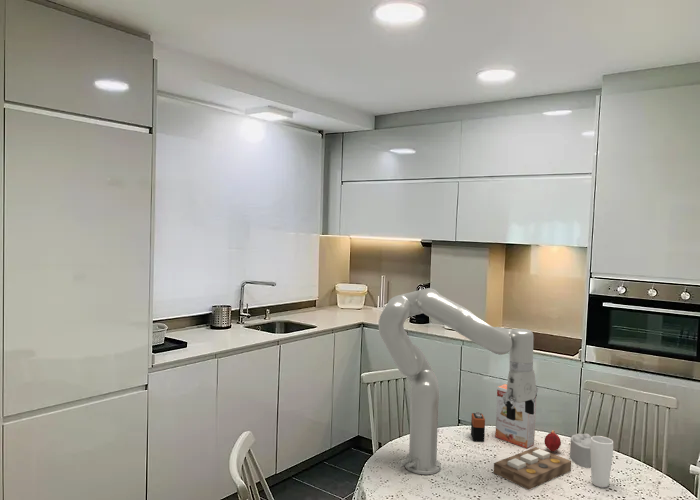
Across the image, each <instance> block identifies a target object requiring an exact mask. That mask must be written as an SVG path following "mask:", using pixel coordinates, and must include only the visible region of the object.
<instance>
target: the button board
mask: <svg viewBox="0 0 700 500" xmlns="http://www.w3.org/2000/svg"><path fill="white" fill-rule="evenodd" d="M538 449H541V450H544V449H542V448H539V447H537V446H536V447H535V446H534V447H532V448H530V449H528V450H525V451H522V452H519V453H517V454H514V455H511V456H509V457H506V458H504V459H500V460H498V461H495V462H493V474H495V475H497V476H499V477H501V478H503V479H505V480H507V481H510V482H512V483H514V484H515V485H518V486H520V487H522V488H525V489H526V490H529V491H530V490H532V489H534V488H536V487H539V486H541V485H543V484H546V483H547V482H549V481H552V480H553V479H556V478H558V477H561V476H562V475H564V474H568V473H570V472H571V471H572V460H571V459H567V458H565V457H563V456H559V455H557V454H554V453H553V452H551V451H547V450H544V451H546V452H549V453H550V457H549V458H547V459H544V460H542V459H540V458H538V462H537V463H534V464H532V465H530V464H528V463H526V462H525V463H526V467H525V468H522V469H520V470H517V469H515V468H513V467H510V466H508V461H509V460H512V459H515V458H516V459H518V460H520V456H522V455H525V454H530V455H532V453H533V451H535V450H538Z"/></svg>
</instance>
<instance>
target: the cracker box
mask: <svg viewBox="0 0 700 500" xmlns="http://www.w3.org/2000/svg"><path fill="white" fill-rule="evenodd" d="M496 392H497V393H496V411H495V412H496V415H495V438H497V439H500V440H502V441H505V442H509V443H511V444H514V445H516V446H518V447H522V448H524V449H528V448H530V447H532V446H534V445H535V434H536V432H535V431H536V430H535V429H536V413H537V412H536V411H537V410H536V409H537V408H536V407H537V397H536V398H535V403H534V414H533V415H531V414H528V413H526V412H525V402H521V403H518V402H517V403H516V405H515V407H514V408H515V409H516V413H515V420H514V421H513V420H510V419H508V418H507V417H506V416H507V407H506V406H505V404H504V401H503V398H502V396H503V395H504V394H505V393H506V392H507V384H506V383H504V384H502V385H499V386H497V387H496ZM510 403H511V404H512V403H513V401H511V402H510Z"/></svg>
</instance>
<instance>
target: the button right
mask: <svg viewBox="0 0 700 500" xmlns="http://www.w3.org/2000/svg"><path fill="white" fill-rule="evenodd" d="M541 449H542V448H540V449H538V450H535V451H533V453H532V455H533V456H535V457H538V458H540V459H542V460H544V459H547V458H549V457H550V453H551V452H550V451H547V450H545V451H544V449H542V450H541ZM546 451H547V452H546ZM549 452H550V453H549Z"/></svg>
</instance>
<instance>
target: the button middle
mask: <svg viewBox="0 0 700 500" xmlns="http://www.w3.org/2000/svg"><path fill="white" fill-rule="evenodd" d="M520 460H521V461H523V462H526V463H528V464H530V465H532V464H534V463H537V462H538V457H535V456H533V455H530V454H525V455H522V456H520Z"/></svg>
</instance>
